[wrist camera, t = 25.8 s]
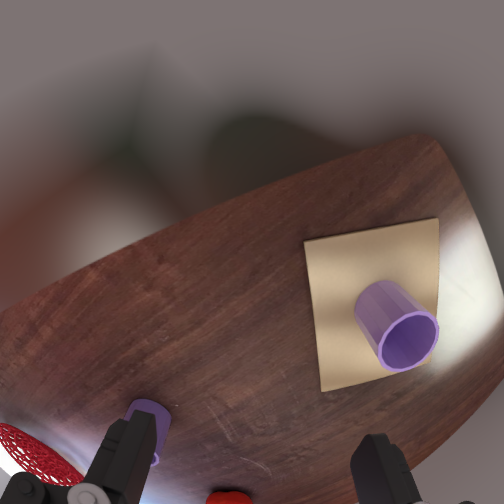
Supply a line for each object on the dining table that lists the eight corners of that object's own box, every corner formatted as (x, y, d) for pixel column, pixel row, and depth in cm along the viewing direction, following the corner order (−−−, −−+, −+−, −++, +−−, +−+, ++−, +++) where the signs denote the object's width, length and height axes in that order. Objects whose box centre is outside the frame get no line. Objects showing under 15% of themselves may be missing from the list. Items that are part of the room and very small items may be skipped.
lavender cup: (352, 286, 31) (378, 321, 23) (405, 274, 30) (442, 303, 22) (355, 337, 32) (376, 379, 25) (404, 324, 32) (434, 360, 24)
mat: (303, 240, 30) (303, 242, 29) (435, 217, 29) (438, 218, 28) (320, 389, 35) (321, 392, 35) (428, 359, 34) (430, 362, 33)
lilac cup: (123, 398, 37) (103, 435, 29) (162, 398, 36) (146, 439, 28) (140, 427, 38) (125, 464, 31) (177, 428, 38) (166, 468, 30)
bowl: (61, 485, 50) (55, 496, 45) (-10, 413, 43) (-19, 423, 38) (128, 493, 46) (123, 508, 41) (39, 408, 39) (27, 423, 35)
